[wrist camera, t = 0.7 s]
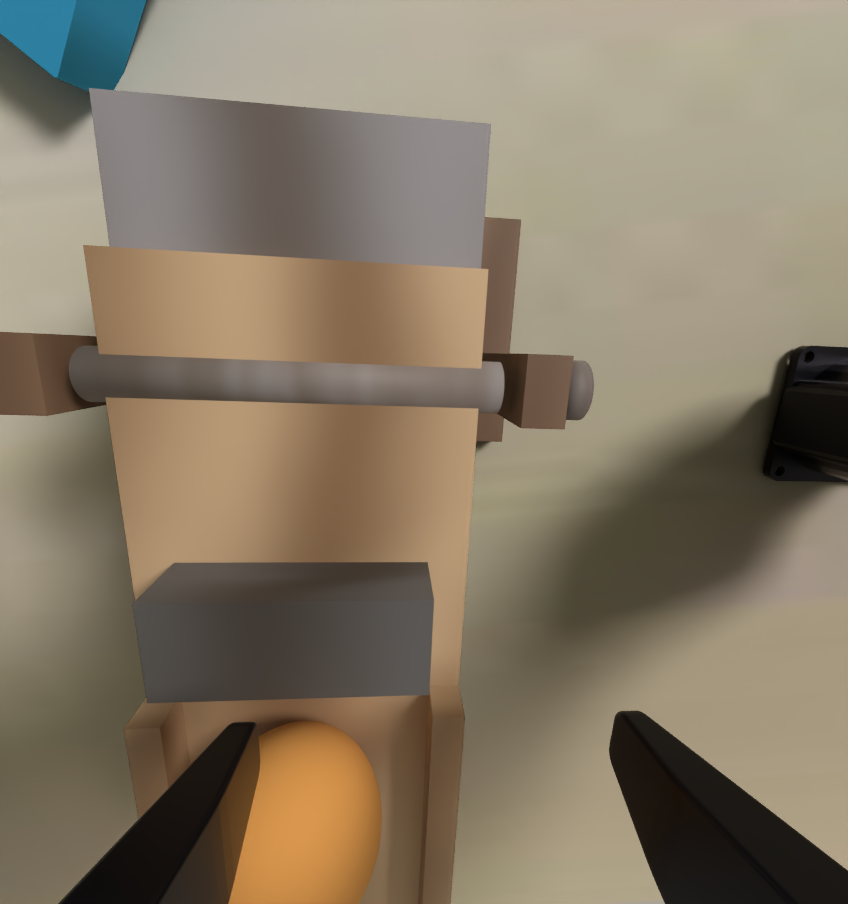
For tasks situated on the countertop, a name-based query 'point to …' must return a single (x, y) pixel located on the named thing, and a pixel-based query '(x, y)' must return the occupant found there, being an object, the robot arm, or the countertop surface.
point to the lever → (74, 37)
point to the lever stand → (525, 375)
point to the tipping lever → (296, 434)
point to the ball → (310, 820)
